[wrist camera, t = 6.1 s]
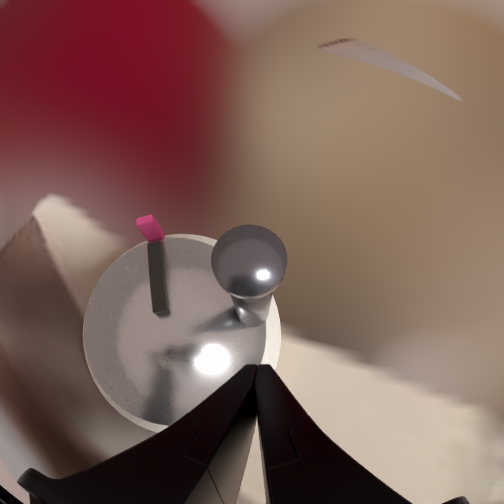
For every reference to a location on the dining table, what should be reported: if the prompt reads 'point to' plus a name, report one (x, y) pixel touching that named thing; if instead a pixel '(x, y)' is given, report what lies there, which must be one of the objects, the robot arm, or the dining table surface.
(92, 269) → the dining table surface
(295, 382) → the dining table surface
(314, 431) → the robot arm
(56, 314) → the dining table surface
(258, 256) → the capstan dial
